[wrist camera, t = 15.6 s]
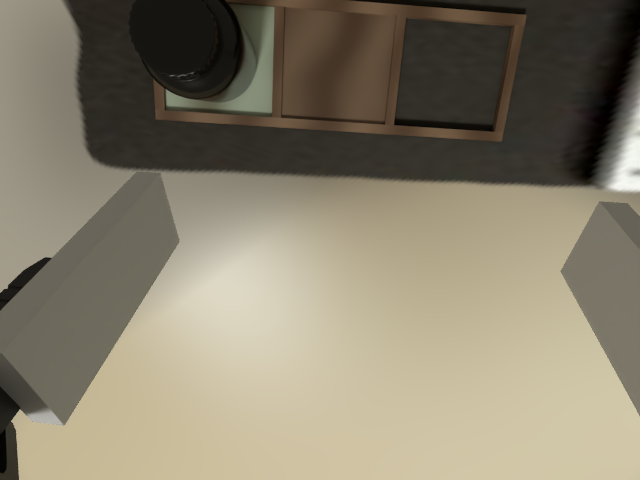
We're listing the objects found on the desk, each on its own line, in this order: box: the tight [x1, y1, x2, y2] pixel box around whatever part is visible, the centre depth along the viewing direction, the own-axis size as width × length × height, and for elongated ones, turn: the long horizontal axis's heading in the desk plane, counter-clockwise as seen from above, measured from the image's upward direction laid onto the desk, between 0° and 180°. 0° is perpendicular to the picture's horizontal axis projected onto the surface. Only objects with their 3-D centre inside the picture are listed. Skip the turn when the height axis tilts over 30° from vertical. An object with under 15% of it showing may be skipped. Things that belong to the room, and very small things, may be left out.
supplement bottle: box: [129, 0, 256, 103], centre depth 27 cm, size 7×7×12 cm
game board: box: [153, 0, 527, 142], centre depth 33 cm, size 31×10×1 cm, turn 86°
